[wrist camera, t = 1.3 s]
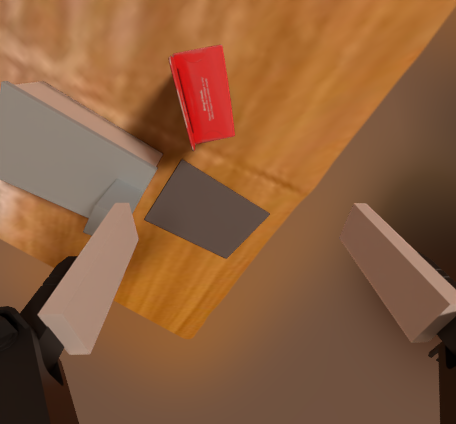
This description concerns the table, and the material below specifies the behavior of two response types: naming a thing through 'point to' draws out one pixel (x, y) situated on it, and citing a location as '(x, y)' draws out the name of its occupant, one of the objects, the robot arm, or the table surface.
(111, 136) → the tub
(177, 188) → the mat
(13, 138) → the lid
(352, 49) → the table surface
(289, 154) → the table surface
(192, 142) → the ink box
